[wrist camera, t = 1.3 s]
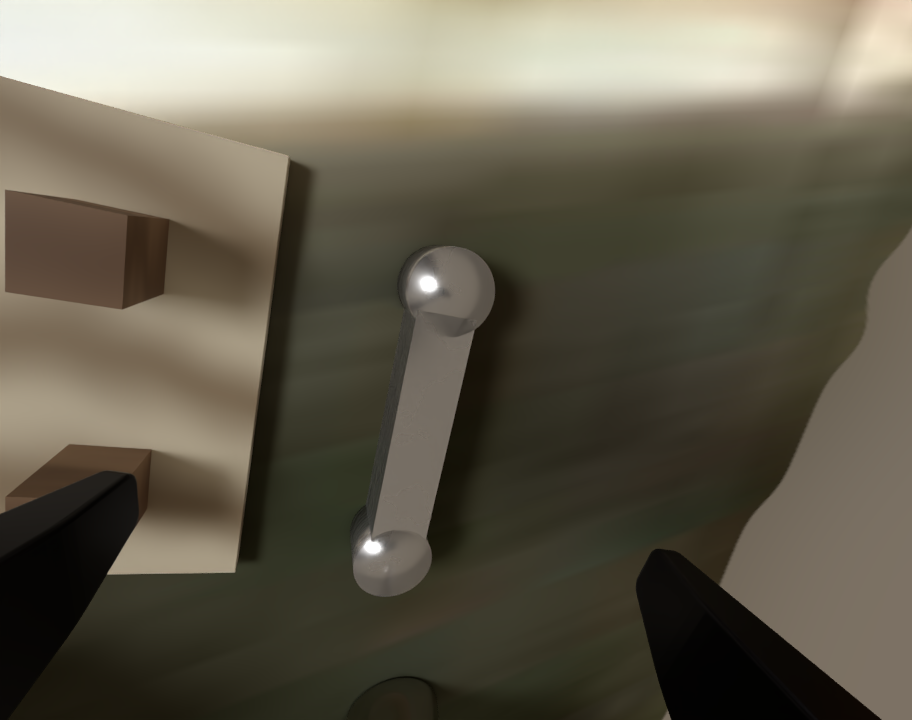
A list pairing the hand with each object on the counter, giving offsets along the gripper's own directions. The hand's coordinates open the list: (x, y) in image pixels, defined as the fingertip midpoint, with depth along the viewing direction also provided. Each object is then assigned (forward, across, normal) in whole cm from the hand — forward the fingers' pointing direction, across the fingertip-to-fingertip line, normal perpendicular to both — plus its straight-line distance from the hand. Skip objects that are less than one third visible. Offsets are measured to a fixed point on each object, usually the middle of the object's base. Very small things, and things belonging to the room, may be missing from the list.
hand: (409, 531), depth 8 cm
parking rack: (+12, +12, +5) cm, 18 cm away
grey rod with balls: (+15, 0, +6) cm, 16 cm away
